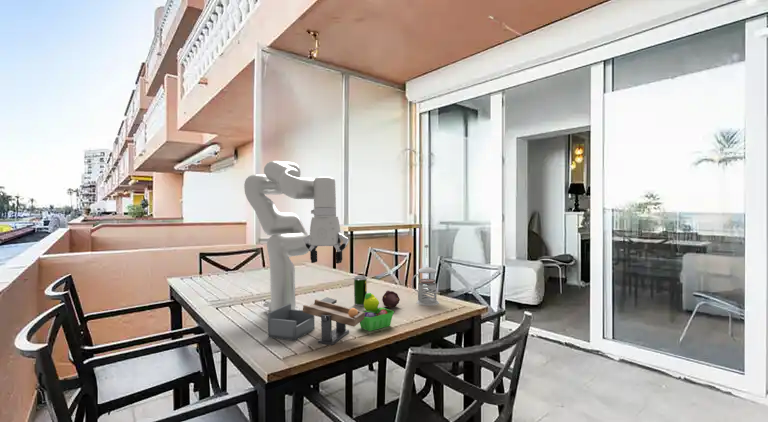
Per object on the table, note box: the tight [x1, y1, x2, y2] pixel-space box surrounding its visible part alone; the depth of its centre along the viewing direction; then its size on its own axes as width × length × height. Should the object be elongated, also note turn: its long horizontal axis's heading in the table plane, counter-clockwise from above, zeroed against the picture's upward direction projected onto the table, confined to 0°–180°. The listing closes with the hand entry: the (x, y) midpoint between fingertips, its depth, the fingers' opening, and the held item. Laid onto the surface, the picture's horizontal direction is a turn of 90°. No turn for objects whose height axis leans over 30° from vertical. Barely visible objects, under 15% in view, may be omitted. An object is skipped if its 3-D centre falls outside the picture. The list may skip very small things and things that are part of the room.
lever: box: [302, 296, 365, 327], centre depth 122 cm, size 18×16×2 cm
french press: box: [411, 244, 440, 307], centre depth 159 cm, size 10×12×25 cm
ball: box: [348, 307, 359, 318], centre depth 116 cm, size 3×3×3 cm
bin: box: [267, 304, 316, 342], centre depth 123 cm, size 10×12×8 cm
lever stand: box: [317, 315, 350, 346], centre depth 118 cm, size 5×13×8 cm, turn 161°
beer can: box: [353, 274, 368, 307], centre depth 158 cm, size 5×5×12 cm
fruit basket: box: [359, 292, 395, 332], centre depth 129 cm, size 11×9×11 cm
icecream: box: [381, 290, 401, 309], centre depth 153 cm, size 7×7×15 cm
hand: (326, 262), depth 128 cm, fingers open, 9 cm apart
